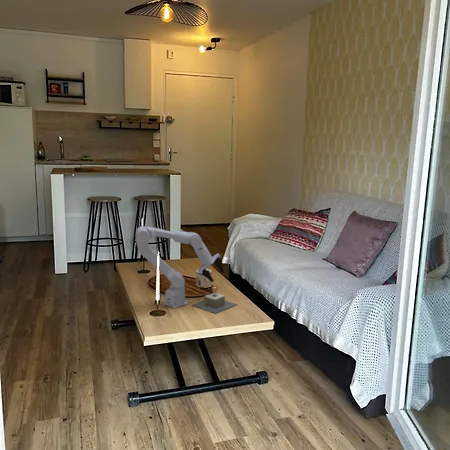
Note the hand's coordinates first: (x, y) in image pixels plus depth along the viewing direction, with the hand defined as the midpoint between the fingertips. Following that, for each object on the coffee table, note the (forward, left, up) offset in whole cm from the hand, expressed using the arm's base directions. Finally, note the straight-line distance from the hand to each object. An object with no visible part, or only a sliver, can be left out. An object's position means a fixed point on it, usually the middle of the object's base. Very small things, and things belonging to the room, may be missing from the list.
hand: (217, 276), depth 228 cm
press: (-5, -3, -13) cm, 14 cm away
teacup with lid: (+12, +20, -13) cm, 27 cm away
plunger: (-5, -3, -9) cm, 11 cm away
